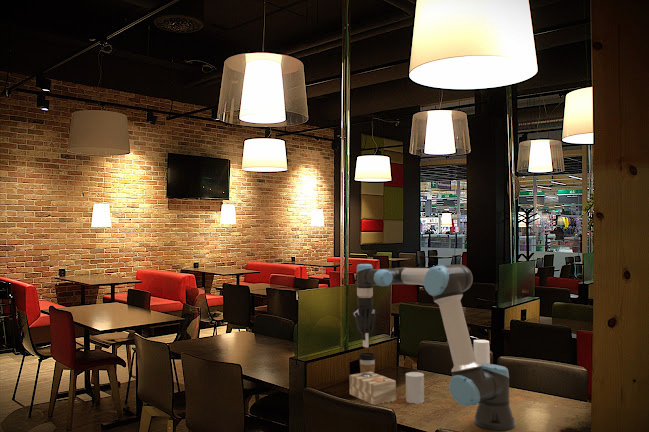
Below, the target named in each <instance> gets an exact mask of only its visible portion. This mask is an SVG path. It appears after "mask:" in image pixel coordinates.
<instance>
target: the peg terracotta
mask: <svg viewBox="0 0 649 432" xmlns="http://www.w3.org/2000/svg"><path fill="white" fill-rule="evenodd" d="M374 381H375V382H382V381H383V378H374Z"/></svg>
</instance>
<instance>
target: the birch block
mask: <svg viewBox="0 0 649 432" xmlns="http://www.w3.org/2000/svg"><path fill="white" fill-rule="evenodd" d="M364 373H369V374H371V376H370V377H362V376H361V374H363V373H361V372H359V373H353V374H349V377H348V378H349V379H348V381H349V395H351V396H353V397H355V398H357V399H360V400H362V401H364V402H366V403H369V404H370V405H373V404H374V405H373V406H376V405H377V404H378V405H381V404H380V403H383V404H385V403H384V402H388V403H390V402H389V401H392V402H395V401H394V400H396V401H397V389H396V388H397V383H396V380H395V379H392V378H389V377H387V376H384V375H382V374H378V373H375V372H374V373H373V372H364ZM374 378H383V381H382V382H375V381H374ZM378 405H377V406H378Z"/></svg>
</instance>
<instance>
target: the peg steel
mask: <svg viewBox="0 0 649 432" xmlns="http://www.w3.org/2000/svg"><path fill="white" fill-rule="evenodd" d="M361 376H362V377H370V376H371V374H369V373H363V374H361Z"/></svg>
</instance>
